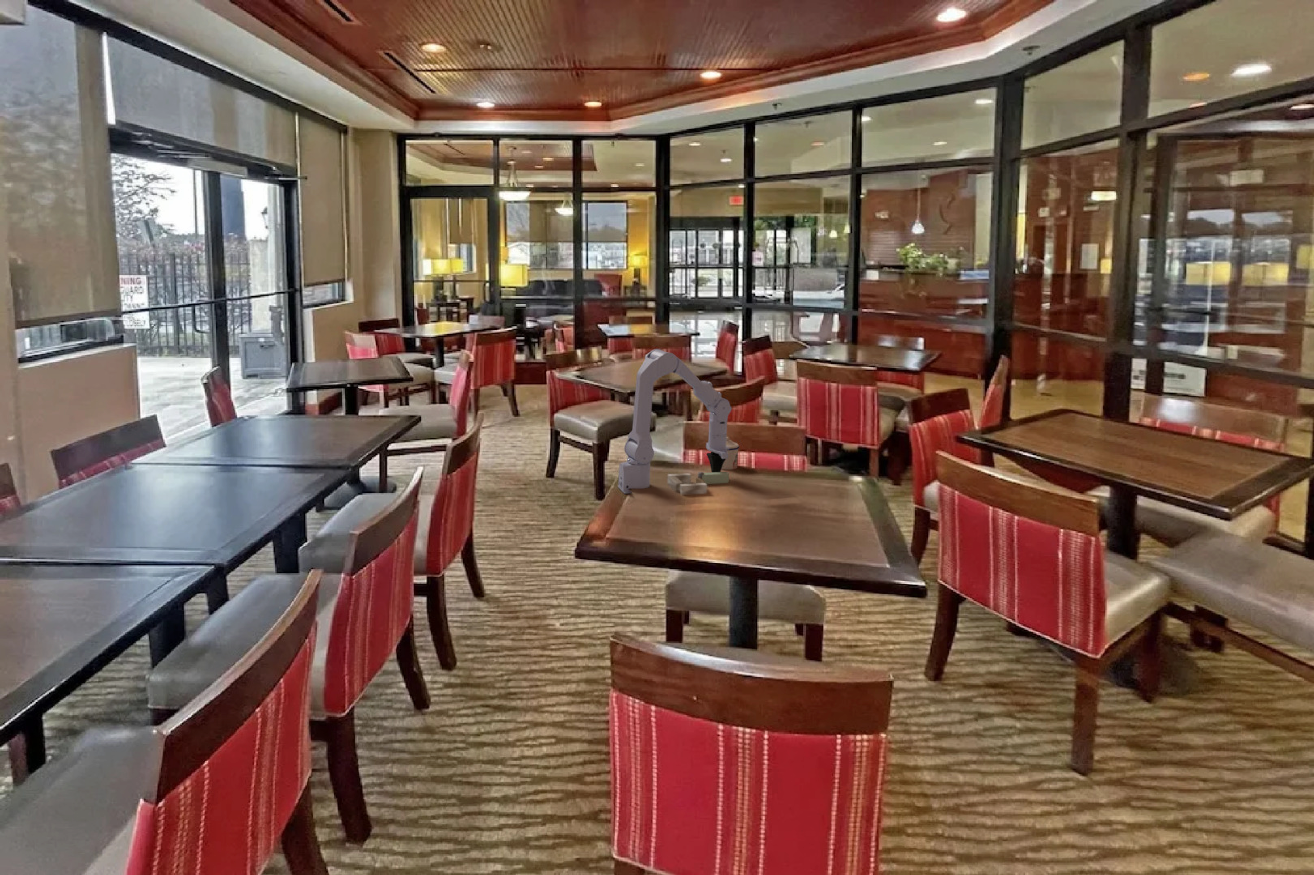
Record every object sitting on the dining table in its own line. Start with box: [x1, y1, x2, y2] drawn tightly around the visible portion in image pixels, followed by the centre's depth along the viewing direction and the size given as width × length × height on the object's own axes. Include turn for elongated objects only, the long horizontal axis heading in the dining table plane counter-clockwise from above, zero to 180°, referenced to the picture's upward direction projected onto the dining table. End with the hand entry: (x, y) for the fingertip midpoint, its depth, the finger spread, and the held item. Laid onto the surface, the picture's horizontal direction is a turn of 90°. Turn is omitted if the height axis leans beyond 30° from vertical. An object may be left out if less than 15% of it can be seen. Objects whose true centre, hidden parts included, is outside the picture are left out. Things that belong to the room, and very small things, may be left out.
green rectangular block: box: [697, 471, 730, 485], centre depth 285 cm, size 2×10×3 cm, turn 107°
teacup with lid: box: [721, 436, 740, 470], centre depth 306 cm, size 12×9×12 cm
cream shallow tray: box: [667, 472, 708, 496], centre depth 279 cm, size 14×14×4 cm
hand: (715, 475), depth 290 cm, fingers closed
